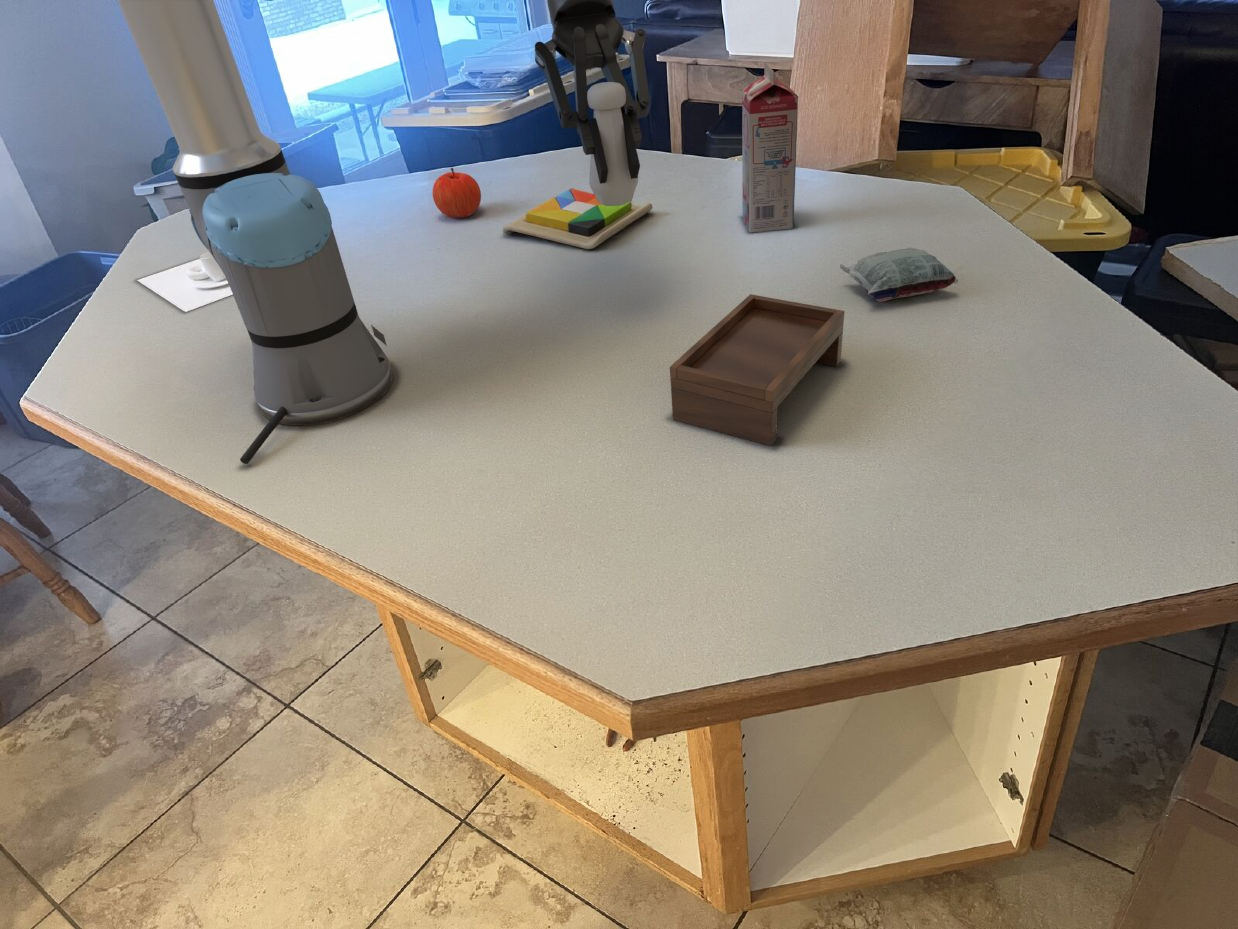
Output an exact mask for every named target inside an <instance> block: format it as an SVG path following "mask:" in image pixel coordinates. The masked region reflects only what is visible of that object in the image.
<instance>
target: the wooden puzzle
mask: <svg viewBox="0 0 1238 929" xmlns="http://www.w3.org/2000/svg"><path fill="white" fill-rule="evenodd" d="M652 209H653V203H651V202H648V203H646V204H644V205H643V206H641V205H637V204H632V201H631V202H629V203H626V204H623V205H621V206H604V205H602V204H601V203H599V202H598V201H597V199H596V197H595V195H594V193H593V192H588V191H583V190H580V189H575V188H569V189H567V190H564V191H563V192H561V193H559V194H558V195H555V196H554V197H552V198H550V199H548V200H547V201H545V202H543V203H541V204H539V205H538V206H536V207H533V208H532V209H530V210H529V211H527V212H525V214H523V215H522V216H520V217H518V218H517V219H515V220H513V221H511V222H509V223H507V224H506V225H505V226H504V225H503V227H502V228H501V229H502V233H503V234H505V235H508V234H510V233H512V232H516V233H519V234H524V235H529V236H531V237H537V238H540V239H543V240H547V241H548V240H549V241H552V242H556V243H561V244H564V245H568V246H573V247H577V248H581V249H584V250H585V249H586V250H592V249H593V250H594V249H595V248H596V247H598V246H599V245H601V244H602V243H603V242H605V241H606V240H608V239H610V238H612V236H614V235H616V234H618V233H619V232H620V231H622V230H623V229H625V228H626V227H627V226H629V225H631V224H633V223H634V222H635V221H637V220H638V219H640V218H641V217H643V216H644V215H646V214H647V213H649V212H651V210H652Z"/></svg>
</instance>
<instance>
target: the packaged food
mask: <svg viewBox="0 0 1238 929" xmlns="http://www.w3.org/2000/svg"><path fill="white" fill-rule="evenodd" d="M839 268H840V269H841V271H842V272H844V273H846V274H848V275H849V276H850V278H852V279H853V280H854V281H856V282H857V283H858V284H859V285H860V286H862V287H863V288H864V289H865V290H867V292H868V293H867V294H866V296H868V295H869V297H870V298H873V299H874V300H875V301H877V302H886V301H890V300H895V299H899V298H908V297H914V296H918V295H924V294H929V293H933V292H937V291H940V290H942V289H946V288H948V287H950V286H952V285H953V284H957V283H958V282H959V281H958V279H956V278H957V276H955V274H954V272H952V271H951V270H950V269H949V268H948V267H947V266H945V264H943V262H941V261H940V260H939V259H938V258H937V257H936V256H934V255H933V254H931V253H929V252H927V251H926V250H923V249H918V248H915V247H914V248H912V247H908V248H901V249H894V250H890V251H889V250H888V251H883V252H878V253H873V254H870V255H867V256H865V257H862V258H861V259H856V260H854V262H851V263H849V264H846V265H843V264H841V263H839Z"/></svg>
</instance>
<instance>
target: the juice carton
mask: <svg viewBox="0 0 1238 929" xmlns="http://www.w3.org/2000/svg"><path fill="white" fill-rule="evenodd" d="M763 65H764V68H763V69H764V70H763V71H764V75H763V76H761V77H760V78H758V79H756V80H755V81H753V82H751V84H749V85H747V86H746V87H745V88H744V89H743V90H742V91H741V94H742V100H741V101H742V102H741V106H742V108H741V109H742V112H741V114H742V115H741V116H742V118H741V119H742V124H741V125H742V126H741V127H742V139H741V140H742V142H741V143H742V145H741V146H742V148H741V150H742V156H741V158H742V162H741V163H742V164H741V165H742V169H741V171H742V172H741V174H742V181H741V182H742V183H741V184H742V189H741V190H742V195H741V196H742V198H741V199H742V206H741V207H742V210H741V211H742V212H741V214H742V216H741V217H742V220H743V222H744V224H745V226H746V228H747V231H748V233H749V234H750V233H751V234H753V233H762V232H771V231H781V230H792V229H794V222H795V197H796V196H795V191H796V166H797V142H798V141H797V140H798V138H797V136H798V110H799V109H798V108H799V96H798V94H796V93H795V91H794V90H793V89H792V88H791V87H790V85H787V84H786V83H785V82H783V81H781V80H778V79H776V75H775V71H774V70H773V69H772V68H771V67H770V66H769V64H768V63H766V62H764V64H763Z"/></svg>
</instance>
